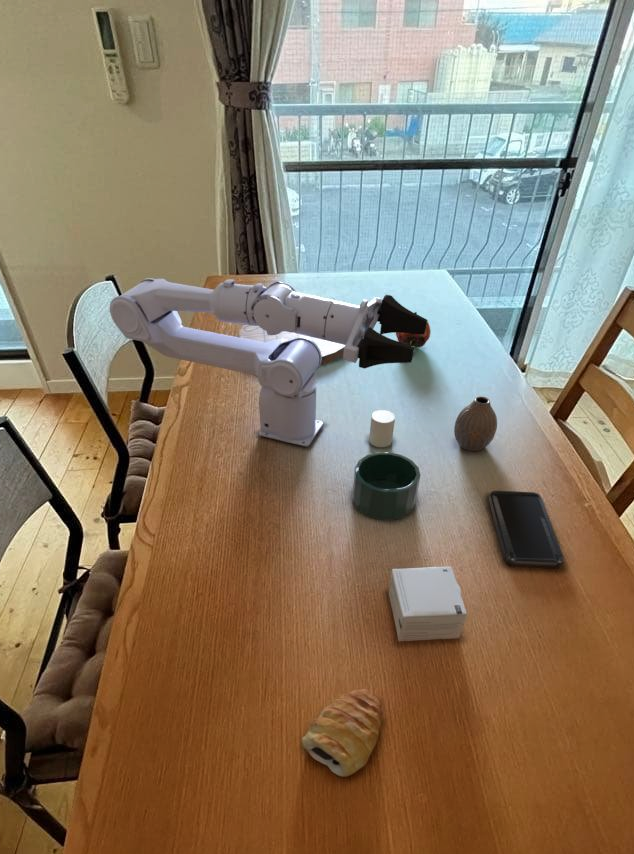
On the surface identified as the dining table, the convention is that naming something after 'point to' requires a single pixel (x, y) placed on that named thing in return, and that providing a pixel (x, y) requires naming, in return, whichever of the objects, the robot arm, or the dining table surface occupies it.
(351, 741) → the pastry
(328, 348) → the trivet
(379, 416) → the candle
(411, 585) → the small box
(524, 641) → the dining table surface
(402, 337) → the pomegranate
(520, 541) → the phone
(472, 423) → the vase
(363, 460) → the dark green bowl
